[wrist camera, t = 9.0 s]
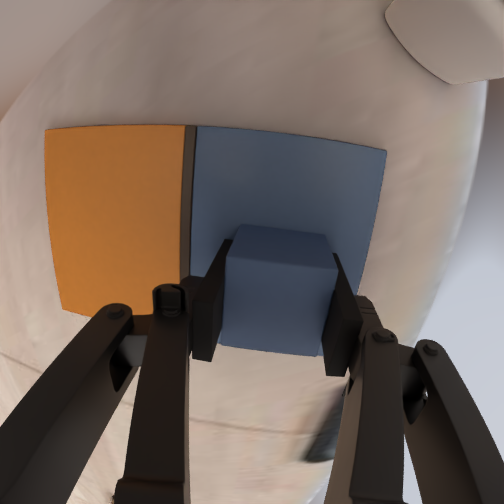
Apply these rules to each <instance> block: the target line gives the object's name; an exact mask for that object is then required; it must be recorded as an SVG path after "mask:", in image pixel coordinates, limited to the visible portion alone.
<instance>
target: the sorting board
mask: <svg viewBox="0 0 504 504" xmlns="http://www.w3.org/2000/svg"><path fill="white" fill-rule="evenodd" d="M386 156H387V151H386V150H381V149H377V148H372V147H367V146H362V145H357V144H351V143H346V142H340V141H334V140H328V139H322V138H316V137H309V136H302V135H295V134H287V133H279V132H270V131H261V130H250V129H239V128H226V127H211V126H190V125H105V126H85V127H71V128H59V129H48V130H45V185H46V201H47V214H48V224H49V233H50V241H51V248H52V255H53V262H54V268H55V274H56V279H57V285H58V290H59V295H60V299H61V304H62V309H63V310H67V311H70V312H74V313H77V314H81V315H85V316H89V317H93V316H94V315H95V314H96V313H97V312H98V311H99V310H100V309H101V308H102V307H104V306H105V305H108V304H111V303H123V304H126V305H128V306H129V307H131V308H132V312H133V315H147V314H153V299H152V290H153V289H154V288H155V287H157V286H158V285H161V284H165V283H174V284H179V283H180V282H181V280H182V279H183V278H185V277H187V276H189V275H192V276H199V277H205V275H206V273H207V271H208V269H209V267H210V265H211V263H212V262H213V260H214V258H215V256H216V254H217V252H218V250H219V248H220V247H221V245H222V243H223V241H224V239H230V240H234V238H235V236H236V234H237V232H238V229H239V227H240V225H241V224H245V225H253V226H261V227H269V228H277V229H285V230H293V231H300V232H308V233H315V234H323V235H325V236H326V238H327V241H328V244H329V246H330V249H331V252H332V253H337V255H338V257H339V259H340V262H341V264H342V267H343V269H344V272H345V274H346V277H347V279H348V282H349V284H350V287H351V289H352V292H353V294H354V295H357V292H358V288H359V284H360V281H361V277H362V273H363V269H364V265H365V261H366V257H367V253H368V249H369V244H370V240H371V236H372V231H373V226H374V222H375V217H376V212H377V207H378V202H379V197H380V191H381V186H382V180H383V174H384V168H385V162H386ZM220 342H221V332H220V335H219V338H218V341H217V343H220ZM220 344H221V343H220ZM317 355H318V356H323V349H322V342H321V343H320V347H319V351H318V354H317Z"/></svg>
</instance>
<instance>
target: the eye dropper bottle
mask: <svg viewBox="0 0 504 504" xmlns="http://www.w3.org/2000/svg"><path fill="white" fill-rule="evenodd" d="M385 18H386V21H387V23H388V25H389V27H390V28H391V30H392V31H393V33H394V34H395V36H396V37H397V39H398V40H399V41H400V43H401V44H402V45H403V46H404V48H405V49H406V50H407V51H408V52H409V53H410V54H411V55H412V56H413V57H414V58H415V59H416V60H417V61H418V62H419V63H420V64H421V65H422V66H423V67H425V68H426V69H427V70H428V71H430V72H431V73H432V74H434V75H435V76H437V77H438V78H440V79H442V80H443V81H445V82H447V83H449V84H454V85H459V84H464V83H470V82H477V81H483V80H490V79H496V78H504V0H394V1H393V2H392V3H391V5H390V6H389V7H388V8H387V9H386V12H385Z"/></svg>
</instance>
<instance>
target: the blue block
mask: <svg viewBox="0 0 504 504" xmlns="http://www.w3.org/2000/svg"><path fill="white" fill-rule="evenodd" d="M337 276H338V268H337V265H336V262H335V260H334V257H333V254H332V252H331V249H330V246H329V244H328V241H327V238H326V236H325V235H323V234H315V233H308V232H300V231H293V230H285V229H277V228H269V227H261V226H253V225H245V224H241V225H240V227H239V229H238V232H237V234H236V236H235V238H234V240H233V243H232V245H231V247H230V249H229V251H228V254H227V256H226V264H225V280H224V295H223V311H222V327H221V342H220V343H221V345H223V346H230V347H237V348H244V349H251V350H258V351H266V352H275V353H283V354H293V355H302V356H313V357H316V356H317V354H318V351H319V347H320V343H321V340H322V336H323V332H324V329H325V325H326V321H327V317H328V313H329V309H330V305H331V301H332V297H333V293H334V289H335V284H336V280H337Z"/></svg>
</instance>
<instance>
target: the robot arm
mask: <svg viewBox="0 0 504 504" xmlns="http://www.w3.org/2000/svg"><path fill="white" fill-rule="evenodd" d="M232 243H233V240H230V239H224V241H223V243H222V245H221V247H220V248H219V250H218V252H217V254H216V256H215V258H214V260H213V262H212V263H211V265H210V267H209V269H208V271H207V273H206V275H205V277H199V276H192V275H189V276H187V277H185V278H183V279H182V280H181V282H180V283H179V284H174V283H165V284H161V285H158V286H157V287H155V288H154V289H153V290H152V299H153V314H147V315H133V312H132V308H131V307H129V306H128V305H126V304H123V303H111V304H108V305H105V306H104V307H102V308H101V309H100V310H99V311H98V312H97V313H96V314H95V315H94V316H93V317H92V318H91V319H90V321H89V322H88V323H87V324H86V325H85V326H84V327H83V328H82V329H81V330H80V332H79V333H78V334H77V335H76V336H75V337H74V338H73V339H72V340H71V342H70V343H69V344H68V345H67V346H66V347H65V348H64V350H63V351H62V352H61V353H60V354H59V355H58V356H57V358H56V359H55V360H54V361H53V362H52V363H51V365H50V366H49V367H48V368H47V369H46V370H45V372H44V373H43V374H42V375H41V376H40V378H39V379H38V380H37V381H36V382H35V384H34V385H33V386H32V387H31V389H30V390H29V391H28V392H27V393H26V395H25V396H24V397H23V398H22V400H21V401H20V402H19V403H18V405H17V406H16V407H15V409H14V410H13V411H12V412H11V414H10V415H9V416H8V418H7V419H6V420H5V422H4V423H3V424H2V425H1V427H0V504H66V503H67V501H68V499H69V497H70V495H71V493H72V491H73V489H74V487H75V485H76V483H77V481H78V479H79V477H80V475H81V473H82V471H83V469H84V467H85V465H86V463H87V462H88V460H89V458H90V456H91V454H92V452H93V450H94V448H95V446H96V445H97V443H98V441H99V439H100V437H101V435H102V433H103V432H104V430H105V428H106V426H107V424H108V422H109V420H110V419H111V417H112V415H113V413H114V411H115V410H116V408H117V406H118V404H119V402H120V401H121V399H122V397H123V395H124V393H125V392H126V390H127V388H128V386H129V385H130V383H131V381H132V379H133V378H134V376H135V374H136V372H137V371H138V369H139V366H141V369H140V374H139V380H138V385H137V390H136V396H135V402H134V408H133V413H132V420H131V426H130V433H129V439H128V446H127V454H126V461H125V469H124V475H123V477H122V478H121V479H119V480H118V482H117V484H116V488H115V494H114V504H191V500H190V473H189V356H190V354H191V351H192V359H196V360H202V361H208V362H211V361H212V358H213V354H214V351H215V348H216V345H217V341H218V338H219V335H220V332H221V327H222V311H223V295H224V280H225V264H226V256H227V254H228V251H229V249H230V247H231V245H232ZM332 254H333V257H334V260H335V262H336V265H337V268H338V276H337V280H336V284H335V289H334V293H333V297H332V301H331V305H330V309H329V313H328V317H327V321H326V325H325V329H324V332H323V336H322V340H321V342H322V349H323V356H324V364H325V371H326V376H338V377H344V376H345V374H346V371H347V368H348V367H349V372H350V377H349V379H348V382H347V384H346V387H345V389H344V392H343V394H342V396H343V397H344V396H345V400H344V406H343V413H342V419H341V425H340V430H339V436H338V441H337V447H336V452H335V457H334V461H333V466H332V471H331V475H330V480H329V484H328V488H327V492H326V496H325V500H324V504H408V503H405V502H404V501H403V498H402V497H403V496H402V495H403V475H404V472H403V471H404V435H405V439H406V442H407V446H408V449H409V453H410V456H411V460H412V463H413V467H414V470H415V475H416V479H417V483H418V487H419V491H420V495H421V498H422V503H423V504H504V462H503V460H502V458H501V455H500V453H499V451H498V449H497V446H496V444H495V442H494V440H493V438H492V436H491V434H490V431H489V429H488V427H487V425H486V423H485V421H484V419H483V417H482V416H481V413H480V411H479V410H478V408H477V406H476V404H475V402H474V400H473V398H472V397H471V395H470V393H469V391H468V389H467V387H466V385H465V384H464V382H463V380H462V378H461V377H460V375H459V373H458V371H457V370H456V368H455V366H454V365H453V363H452V361H451V359H450V358H449V356H448V354H447V353H446V351H445V350H444V348H443V347H442V346H441V345H440V344H438V343H437V342H435V341H433V340H427V339H423V340H420V341H418V342H417V344H416V346H415V348H412V347H408V346H404V345H401V344H398V339H397V337H396V335H395V334H394V333H393V332H391V331H389V330H388V329H385V328H383V326H382V324H381V321H380V319H379V317H378V315H377V312H376V310H375V308H374V306H373V304H372V302H371V301H370V300H369V299H368V298H367V297H365V296H358V295H354V294H353V292H352V289H351V287H350V284H349V282H348V279H347V277H346V274H345V272H344V269H343V267H342V264H341V262H340V259H339V257H338V255H337V253H332ZM426 391H427V394H428V397H427V396H426Z"/></svg>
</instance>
